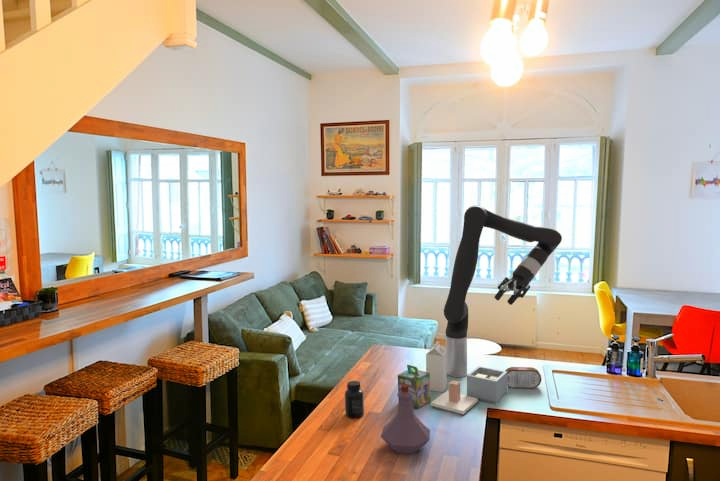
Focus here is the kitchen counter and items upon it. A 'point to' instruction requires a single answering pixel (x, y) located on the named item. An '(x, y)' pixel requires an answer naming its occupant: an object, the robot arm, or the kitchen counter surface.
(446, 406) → the lid
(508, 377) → the tin
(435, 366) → the milk carton
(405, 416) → the flask
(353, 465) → the kitchen counter surface
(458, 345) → the robot arm
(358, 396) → the supplement bottle
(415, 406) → the green handled carton
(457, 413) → the mat
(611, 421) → the kitchen counter surface
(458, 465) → the kitchen counter surface
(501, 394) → the box
